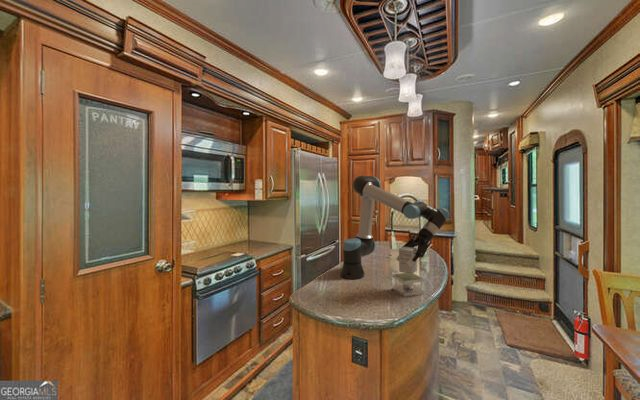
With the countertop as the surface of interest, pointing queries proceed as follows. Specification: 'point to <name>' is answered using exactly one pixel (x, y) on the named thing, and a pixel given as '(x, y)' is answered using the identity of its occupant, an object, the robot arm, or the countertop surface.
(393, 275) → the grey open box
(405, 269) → the supplement box
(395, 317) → the countertop surface
